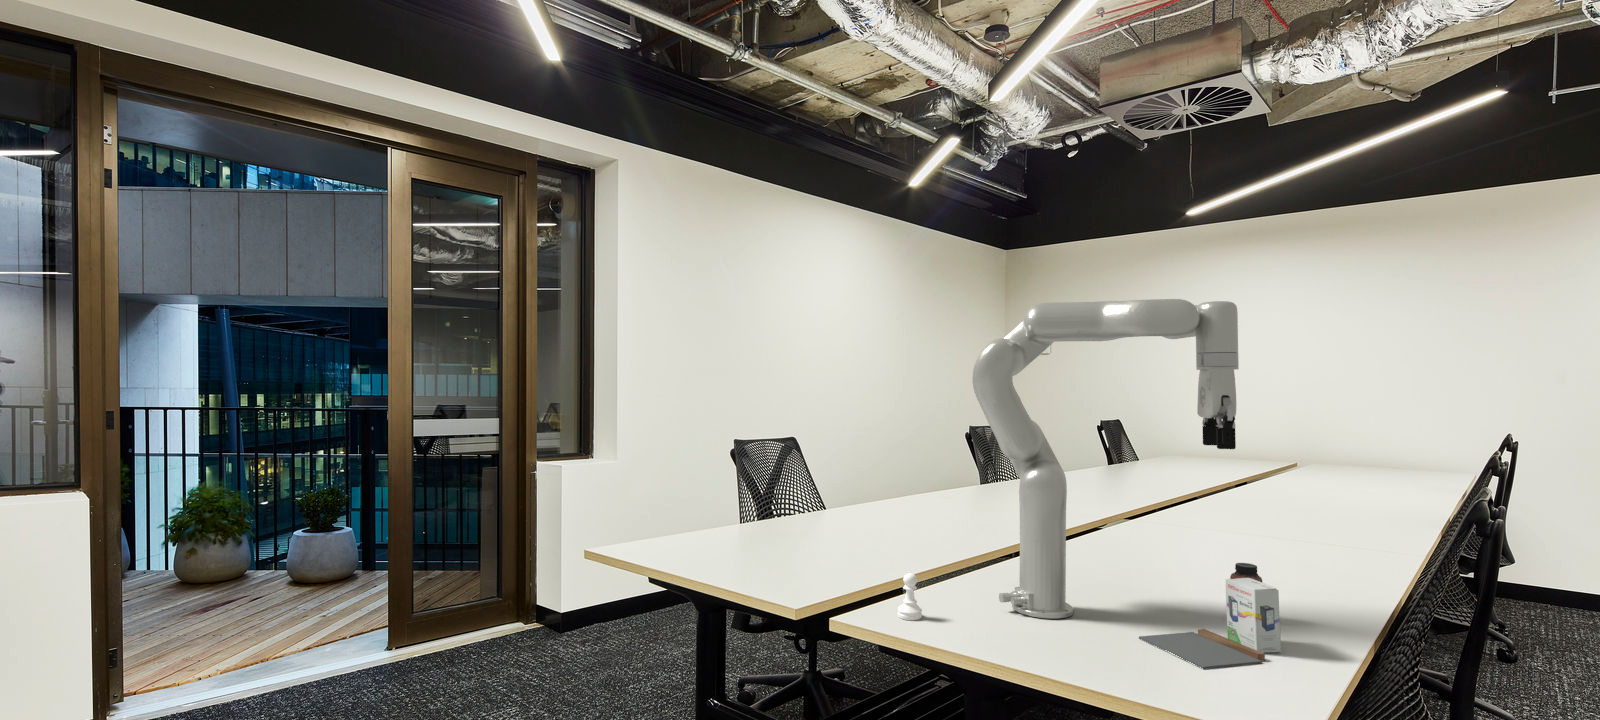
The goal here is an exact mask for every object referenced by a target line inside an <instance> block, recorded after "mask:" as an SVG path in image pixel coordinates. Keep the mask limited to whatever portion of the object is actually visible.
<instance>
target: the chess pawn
mask: <svg viewBox="0 0 1600 720" xmlns="http://www.w3.org/2000/svg"><path fill="white" fill-rule="evenodd" d="M917 578H918V577H917V576H916V574H914V573H911V572H909V573H906V574H905V575H904V576H903V578H902V579H903V584H904V586H903V587H902V588H903V590H905V591H906V592H905V598H904V599H903V600H902V602H903V603H902V604H900V605H899V606H898V608H897V618H899V619H901V620H905V621H918V620H921V619H922V618H923V613H922V611H923V609H922V608H921V607H920V606H919V604H918V600H917V599H915V592H914V591H917V589H918V587H917V586H916V585H917V582H918V579H917Z"/></svg>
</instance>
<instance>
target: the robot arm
mask: <svg viewBox="0 0 1600 720" xmlns="http://www.w3.org/2000/svg"><path fill="white" fill-rule="evenodd" d="M1238 316H1239V315H1238V306H1237V305H1236V304H1235V303H1234V302H1232V301H1228V300H1227V301H1225V300H1223V301H1221V300H1219V301H1217V300H1216V301H1215V300H1212V301H1205V302H1200V303H1199V304H1194V303H1192V302H1191V301H1188V300H1185V299H1183V298H1160V299H1159V298H1157V299H1155V298H1153V299H1152V298H1151V299H1134V300H1133V299H1132V300H1131V299H1130V300H1129V299H1128V300H1106V301H1103V300H1102V301H1071V302H1069V301H1065V302H1063V301H1062V302H1042V303H1037V304H1034V305H1032V306H1031V307H1030V308H1028V310H1027V311H1026V313H1025V314H1024V317H1023V320H1022V321H1021V322H1019V324H1017V325H1016V327H1014V328H1012V330H1011V331H1010V332H1009V333H1007V335H1005V336H1004V337H1002V338H1001V337H1000V338H997V339H994V340H992V341H990V342H989V343H987V344H986V345H985V347H984V348H983V349H982V350H981V351H980V353H979V355H978V356H977V358H976V360H975V363H974V366H973V368H972V369H973V370H972V377H971V378H972V387H973V388H972V389H973V390H974V394H975V395H974V396H975V397H976V400H977V401H978V404H979V406H980V409H981V410H982V412H983V414H984V416H985V419H986V421H987V423H988V425H989V427H990V429H991V431H992V433H993V435H994V437H995V439H996V442H997V443H998V447H999V449H1000V450H1001V453H1003V455H1004V456H1005V457H1007V458H1008V459H1009V461H1010V462H1011V464H1012V467H1013V468H1014V470H1015V472H1016V475H1017V476H1018V478H1019V480H1020V481H1019V486H1018V487H1019V488H1018V493H1019V498H1018V499H1019V586H1014V590H1013V591H1012V592H1001V593H999V594H998V601H999V602H1000V603H1010V604H1011V608H1012V609H1013V610H1014V611H1016V612H1017V613H1019V614H1022V615H1024V616H1029V617H1033V618H1034V617H1035V618H1039V619H1049V620H1050V619H1057V620H1058V619H1064V618H1065V619H1066V618H1069V617H1071V616H1072V615H1073V614H1074V607H1073V606H1072V605H1071V604H1069V603H1067V602H1066V599H1067V595H1066V591H1067V590H1066V589H1067V586H1066V585H1067V584H1066V583H1067V582H1066V576H1067V573H1066V572H1067V568H1066V567H1067V533H1066V532H1067V496H1068V495H1067V491H1068V489H1067V488H1068V487H1067V486H1068V485H1067V478H1066V474H1065V472H1064V469H1063V468H1062V466H1061V464H1060V462H1059V460H1058V458H1057V456H1056V454H1055V452H1054V450H1053V449H1052V447H1051V445H1050V443H1049V441H1048V439H1047V437H1046V436H1045V433H1044V432H1043V430H1042V428H1041V426H1040V425H1038V423H1037V422H1035V421H1034V420H1032V418H1031V416H1030V415H1029V414H1028V412H1027V409H1026V408H1025V406H1024V404H1023V402H1022V399H1021V398H1020V396H1019V393H1018V392H1017V390H1016V389H1015V385H1014V382H1013V377H1014V376H1017V375H1018V374H1019V373H1021V372H1022V371H1023V370H1025V369H1026V368H1027V367H1028V366H1029V365H1030V364H1031V363H1033V361H1034V360H1036V359H1037V358H1038V357H1039V356H1040V355H1041V354H1042V353H1044V352H1045V351H1046V350H1047V349H1048V348H1050V346H1051V345H1052V344H1054V343H1055V342H1107V341H1114V340H1119V339H1123V338H1124V339H1125V338H1135V337H1136V338H1137V337H1162V338H1164V339H1165V338H1166V339H1169V340H1178V339H1185V338H1187V339H1188V338H1191V337H1192V338H1194V337H1195V360H1196V361H1195V364H1196V367H1195V368H1196V371H1199V374H1198V385H1197V388H1198V389H1197V412H1196V413H1197V415H1198V417H1200V418H1202V445H1204V446H1216V448H1217V449H1218V450H1235V449H1236V448H1237V446H1236V444H1237V443H1236V422H1235V421H1236V415H1237V387H1236V378H1235V377H1236V375H1235V370H1239V364H1240V363H1239V325H1238V323H1239V321H1238V320H1239V319H1238Z"/></svg>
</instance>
